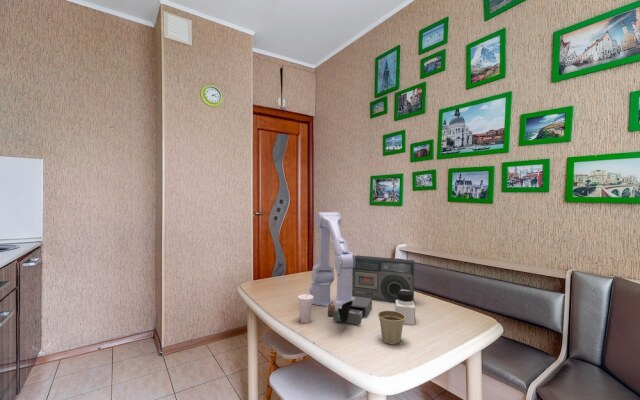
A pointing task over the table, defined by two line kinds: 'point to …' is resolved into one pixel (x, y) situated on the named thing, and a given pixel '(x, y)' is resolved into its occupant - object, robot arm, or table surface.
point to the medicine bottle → (406, 306)
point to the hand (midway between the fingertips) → (344, 321)
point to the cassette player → (382, 278)
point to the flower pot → (391, 326)
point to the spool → (331, 310)
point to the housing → (362, 305)
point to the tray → (350, 316)
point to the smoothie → (305, 306)
